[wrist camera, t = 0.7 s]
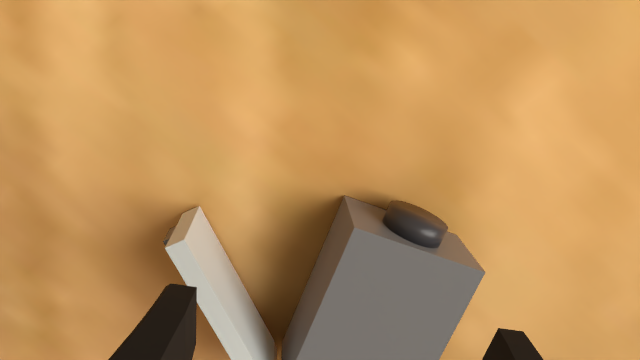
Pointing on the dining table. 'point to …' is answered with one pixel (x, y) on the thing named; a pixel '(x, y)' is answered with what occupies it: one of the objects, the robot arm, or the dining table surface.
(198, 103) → the dining table surface
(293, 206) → the dining table surface
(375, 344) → the camera case
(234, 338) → the side door
